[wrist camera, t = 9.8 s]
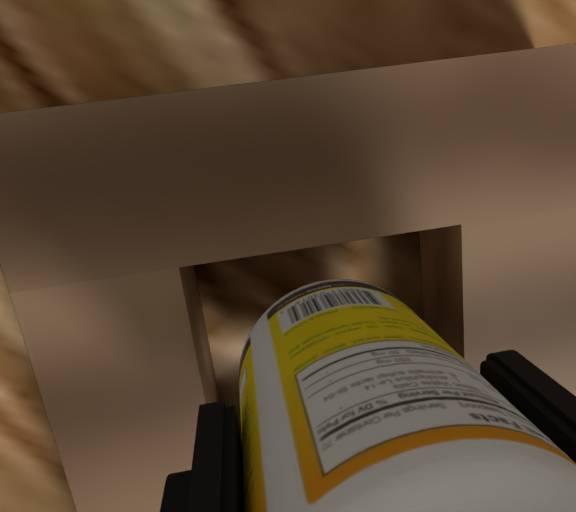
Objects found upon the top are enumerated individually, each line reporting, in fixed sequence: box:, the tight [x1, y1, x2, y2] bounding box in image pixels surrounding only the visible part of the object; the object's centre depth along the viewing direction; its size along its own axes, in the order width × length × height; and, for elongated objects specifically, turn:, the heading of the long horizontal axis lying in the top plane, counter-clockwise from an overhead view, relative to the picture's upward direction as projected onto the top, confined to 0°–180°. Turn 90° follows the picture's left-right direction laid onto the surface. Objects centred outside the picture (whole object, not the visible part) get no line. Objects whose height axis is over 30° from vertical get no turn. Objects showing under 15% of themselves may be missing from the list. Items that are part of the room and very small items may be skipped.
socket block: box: [0, 43, 576, 512], centre depth 14 cm, size 16×16×3 cm
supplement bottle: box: [239, 279, 576, 512], centre depth 9 cm, size 6×6×10 cm
